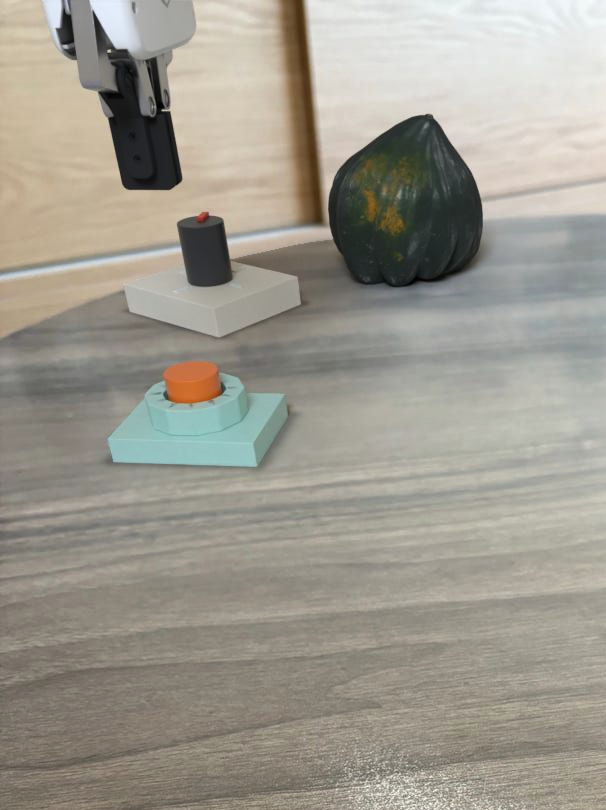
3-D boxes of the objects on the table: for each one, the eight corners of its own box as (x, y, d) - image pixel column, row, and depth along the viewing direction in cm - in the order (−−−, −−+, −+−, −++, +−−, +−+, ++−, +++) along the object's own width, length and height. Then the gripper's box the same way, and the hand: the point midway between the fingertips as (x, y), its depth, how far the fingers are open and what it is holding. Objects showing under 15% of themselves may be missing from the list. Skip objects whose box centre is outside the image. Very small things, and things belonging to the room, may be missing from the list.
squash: (275, 229, 96) (361, 99, 87) (351, 197, 107) (435, 79, 98) (382, 342, 98) (478, 227, 88) (446, 299, 109) (537, 193, 100)
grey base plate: (130, 316, 94) (122, 281, 92) (213, 286, 100) (207, 253, 98) (219, 343, 88) (213, 306, 86) (301, 309, 94) (297, 274, 92)
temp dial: (226, 286, 91) (216, 223, 87) (182, 286, 91) (169, 224, 88) (237, 272, 94) (227, 211, 91) (194, 272, 94) (183, 211, 91)
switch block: (114, 468, 70) (100, 413, 67) (157, 418, 76) (145, 366, 74) (258, 473, 69) (248, 417, 66) (289, 421, 75) (281, 369, 73)
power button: (160, 405, 69) (155, 380, 68) (179, 384, 72) (174, 360, 71) (212, 407, 69) (207, 382, 67) (229, 385, 71) (224, 361, 70)
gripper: (84, -219, 45) (170, 221, 56) (197, -201, 57) (249, 159, 68) (-77, -213, 46) (38, 220, 57) (68, -196, 57) (140, 159, 68)
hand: (153, 186), depth 62 cm, fingers closed
